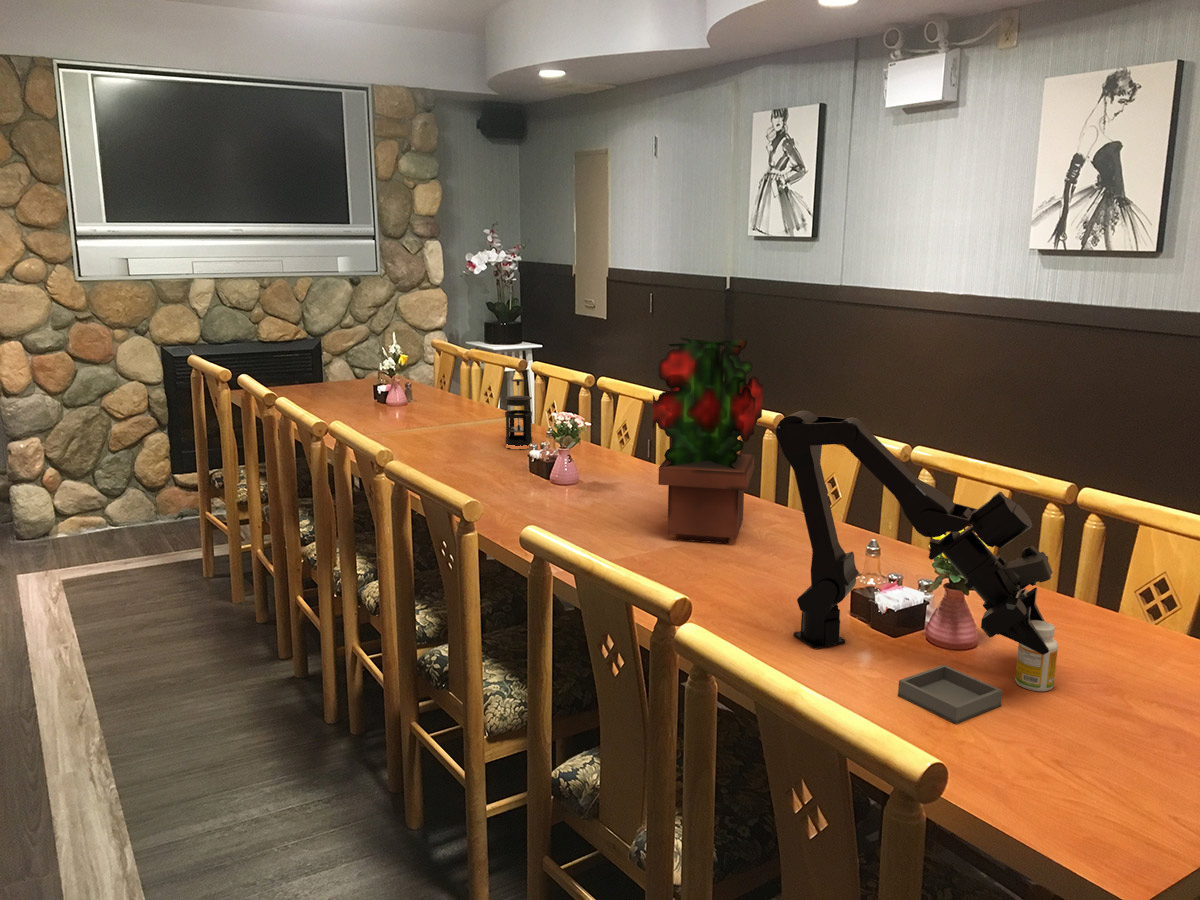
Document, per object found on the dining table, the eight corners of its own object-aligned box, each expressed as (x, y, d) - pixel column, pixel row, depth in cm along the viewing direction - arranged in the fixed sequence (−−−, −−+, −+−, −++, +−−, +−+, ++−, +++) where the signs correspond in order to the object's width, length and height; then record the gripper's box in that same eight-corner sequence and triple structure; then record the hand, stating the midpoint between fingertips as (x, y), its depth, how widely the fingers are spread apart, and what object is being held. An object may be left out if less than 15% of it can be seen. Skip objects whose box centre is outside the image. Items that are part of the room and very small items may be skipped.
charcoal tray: (897, 695, 140) (899, 680, 140) (942, 679, 146) (943, 664, 145) (955, 724, 132) (957, 707, 131) (1000, 706, 137) (1002, 690, 137)
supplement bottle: (1042, 676, 147) (1048, 617, 145) (1060, 692, 142) (1067, 631, 140) (1008, 676, 147) (1014, 618, 145) (1025, 692, 141) (1031, 632, 139)
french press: (498, 446, 318) (497, 378, 314) (522, 443, 324) (521, 376, 319) (517, 452, 309) (515, 382, 304) (541, 448, 315) (540, 380, 310)
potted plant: (650, 544, 212) (653, 344, 203) (667, 518, 233) (670, 336, 224) (749, 552, 207) (757, 347, 198) (757, 524, 228) (764, 338, 219)
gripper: (1013, 551, 133) (1091, 640, 130) (1027, 519, 149) (1098, 598, 146) (950, 593, 139) (1024, 680, 136) (970, 559, 155) (1037, 635, 152)
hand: (1048, 646), depth 142 cm, fingers closed on supplement bottle, 5 cm apart
